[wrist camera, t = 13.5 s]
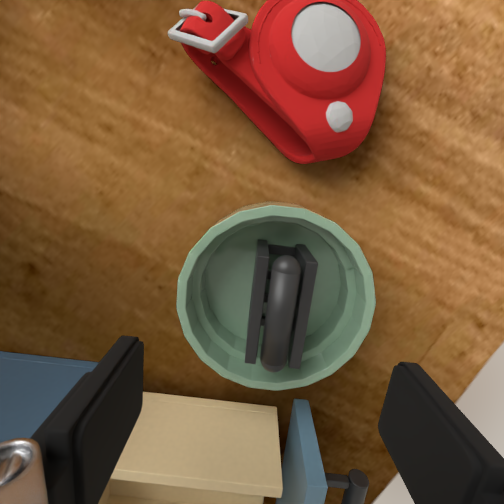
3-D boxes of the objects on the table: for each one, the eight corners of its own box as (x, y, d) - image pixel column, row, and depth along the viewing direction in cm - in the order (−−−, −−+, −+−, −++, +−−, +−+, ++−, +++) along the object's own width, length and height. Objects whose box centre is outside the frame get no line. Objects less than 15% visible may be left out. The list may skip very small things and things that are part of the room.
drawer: (361, 405, 23) (402, 496, 16) (333, 518, 26) (358, 633, 19) (106, 376, 23) (43, 455, 16) (107, 492, 26) (56, 599, 19)
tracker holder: (377, -52, 16) (424, 124, 15) (341, 18, 20) (377, 155, 20) (153, -32, 14) (203, 168, 14) (167, 40, 18) (205, 192, 18)
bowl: (197, 192, 20) (181, 194, 16) (368, 211, 20) (396, 219, 16) (187, 344, 23) (172, 379, 19) (336, 361, 23) (353, 399, 19)
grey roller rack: (258, 235, 20) (257, 255, 15) (305, 241, 20) (322, 263, 15) (247, 327, 22) (243, 375, 16) (291, 332, 22) (301, 381, 16)
